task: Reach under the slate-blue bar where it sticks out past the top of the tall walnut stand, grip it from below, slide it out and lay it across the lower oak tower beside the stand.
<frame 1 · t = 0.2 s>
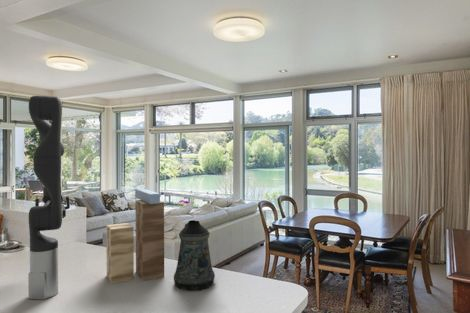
hand: (53, 218, 159), 22 cm above the worktop, tool pointing down, fingers open, 8 cm apart
beer stein: (191, 283, 137), on the worktop
bar: (146, 200, 150), point 32 cm above the worktop, touching walnut stand
oak tower: (120, 277, 143), on the worktop
walnut stand: (149, 274, 147), on the worktop
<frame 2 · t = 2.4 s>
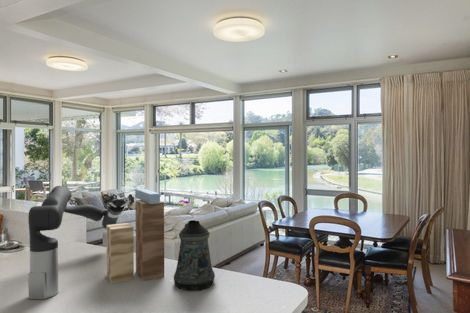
hand: (121, 196, 163), 32 cm above the worktop, tool pointing upward, fingers open, 8 cm apart
nothing on the worktop moved.
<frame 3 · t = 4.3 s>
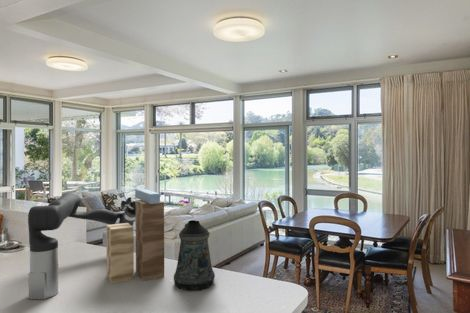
hand: (139, 198, 160), 32 cm above the worktop, tool pointing upward, fingers open, 8 cm apart
nothing on the worktop moved.
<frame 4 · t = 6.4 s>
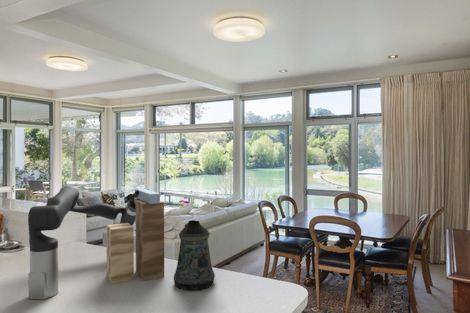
hand: (143, 191, 155), 35 cm above the worktop, tool pointing upward, fingers closed on bar, 4 cm apart
bar: (146, 200, 150), point 32 cm above the worktop, touching gripper, walnut stand
everything else where it was.
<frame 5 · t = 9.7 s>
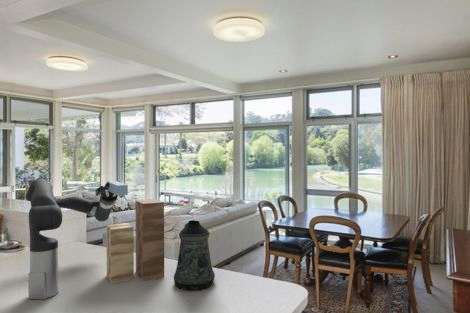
hand: (114, 183, 152), 39 cm above the worktop, tool pointing upward, fingers closed on bar, 4 cm apart
bar: (116, 192, 147), point 36 cm above the worktop, touching gripper
everything else where it was.
when the fingers open (26 cm above the worktop, at t = 13.0 s): bar stays where it is, resting on oak tower.
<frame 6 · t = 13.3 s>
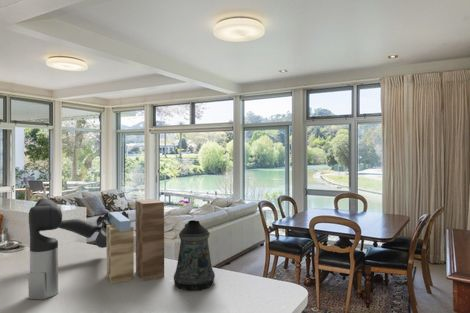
hand: (116, 213, 149), 26 cm above the worktop, tool pointing upward, fingers open, 6 cm apart
bar: (119, 225, 144), point 22 cm above the worktop, touching oak tower
everything else where it was.
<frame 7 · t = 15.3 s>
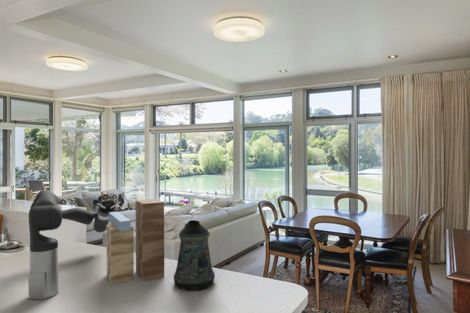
hand: (110, 196, 159), 32 cm above the worktop, tool pointing upward, fingers open, 8 cm apart
nothing on the worktop moved.
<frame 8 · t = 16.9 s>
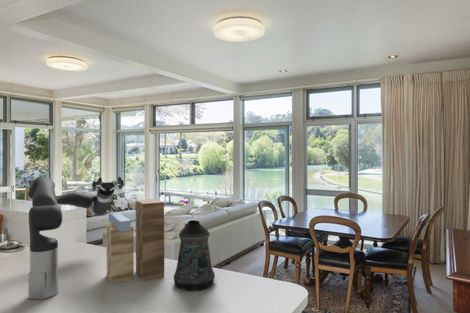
hand: (110, 178, 159), 41 cm above the worktop, tool pointing upward, fingers open, 8 cm apart
nothing on the worktop moved.
at the end: bar inside the target area on the oak tower (1.1 cm from its centre), point 22.0 cm above the oak tower's base; the gripper is holding nothing; bar tilted 0° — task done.
